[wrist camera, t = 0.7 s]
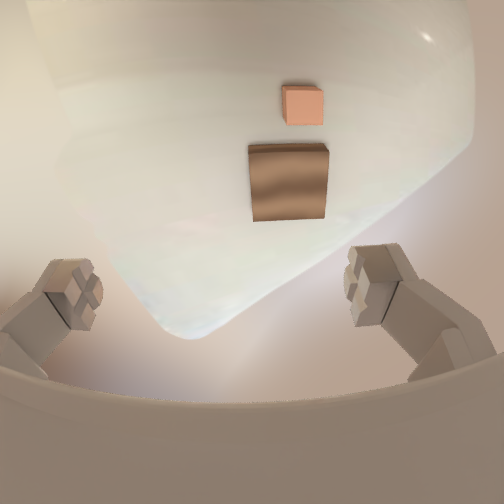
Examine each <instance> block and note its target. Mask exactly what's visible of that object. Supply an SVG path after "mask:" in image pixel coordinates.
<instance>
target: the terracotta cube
mask: <svg viewBox="0 0 504 504" xmlns="http://www.w3.org/2000/svg"><path fill="white" fill-rule="evenodd" d="M282 105H283V118H284V120H285V122H286V124H287V125H323V91H322V90H321V89H319V88H317V87H315V86H282Z"/></svg>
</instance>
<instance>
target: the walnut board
mask: <svg viewBox="0 0 504 504" xmlns="http://www.w3.org/2000/svg"><path fill="white" fill-rule="evenodd" d="M248 155H249V169H250V183H251V197H252V211H253V222H257V221H277V220H298V219H323V218H324V217H325V206H326V195H327V182H328V167H329V150H328V149H327V147H326V146H325V145H324V144H270V145H250V146H248Z"/></svg>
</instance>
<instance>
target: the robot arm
mask: <svg viewBox="0 0 504 504" xmlns="http://www.w3.org/2000/svg"><path fill="white" fill-rule="evenodd" d="M348 259H349V262H350V264H349V265H348V266H347V267H346V268H345V273H344V289H345V294H346V297H347V299H348V300H350V301H351V302H352V305H351V309H350V311H351V314H352V317H353V321H354V324H355V327H360V326H370V325H381V324H382V325H381V326H382V327H383V328H384V329H385V330H386V331H387V332H388V333H389V334H390V336H392V337H393V339H394V340H395V341H396V342H397V343H398V344H399V345H400V346H401V347H402V348H403V349H404V350H405V351H406V352H407V353H408V354H409V355H410V356H411V357H412V358H413V359H414V360H415V362H416V363H417V364H418V366H417V367H416V368H415V370H414V371H413V372H412V373H411V375H410V376H409V378H408V383H404V384H400V385H395V386H391V387H386V388H381V389H376V390H370V391H365V392H358V393H352V394H346V395H339V396H331V397H323V398H314V399H304V400H292V401H276V402H252V403H210V402H188V401H187V402H186V401H173V400H172V401H171V400H161V399H151V398H142V397H133V396H126V395H119V394H113V393H107V392H101V391H95V390H90V389H85V388H80V387H75V386H71V385H66V384H62V383H58V382H54V381H50V380H47V379H48V376H47V374H46V373H45V372H44V371H43V370H42V369H41V368H40V366H41V365H42V364H43V363H44V361H45V360H46V359H47V358H48V356H49V355H50V354H51V353H52V352H53V351H54V350H55V348H56V347H57V346H58V345H59V344H60V343H61V342H62V340H63V339H64V338H65V337H66V336H67V335H68V333H69V332H70V331H71V330H83V331H90V329H91V326H92V324H93V321H94V318H95V316H96V314H95V311H94V310H95V309H96V308H97V307H98V306H99V305H100V304H101V301H102V299H103V287H102V283H101V281H100V279H99V277H97V276H96V275H95V274H94V273H93V270H94V267H93V265H92V263H91V261H90V260H88V259H54V260H52V261H50V263H49V264H48V266H47V268H46V269H45V271H44V272H43V274H42V275H41V277H40V279H39V280H38V282H37V283H36V285H35V287H34V288H33V290H32V292H28V293H27V294H25V295H24V296H23V297H22V298H20V299H19V300H18V301H17V302H16V303H14V304H13V305H12V306H11V307H10V308H8V309H7V310H6V311H5V312H4V313H3V314H1V315H0V504H504V352H502V353H500V354H497V353H496V351H495V349H494V347H493V344H492V342H491V340H490V338H489V336H488V334H487V332H486V330H485V328H484V326H483V324H482V322H481V320H480V319H478V318H477V317H476V316H474V315H473V314H472V313H470V312H469V311H468V310H466V309H465V308H464V307H462V306H461V305H460V304H458V303H457V302H455V301H454V300H453V299H451V298H450V297H448V296H447V295H446V294H444V293H443V292H441V291H440V290H439V289H437V288H436V287H434V286H433V285H431V284H430V283H429V282H427V281H425V280H424V279H419V278H418V276H417V274H416V272H415V271H414V269H413V267H412V265H411V264H410V262H409V260H408V259H407V257H406V255H405V253H404V252H403V250H402V248H401V247H400V245H399V244H397V243H391V244H382V245H364V246H351V248H350V249H349V253H348Z"/></svg>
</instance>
